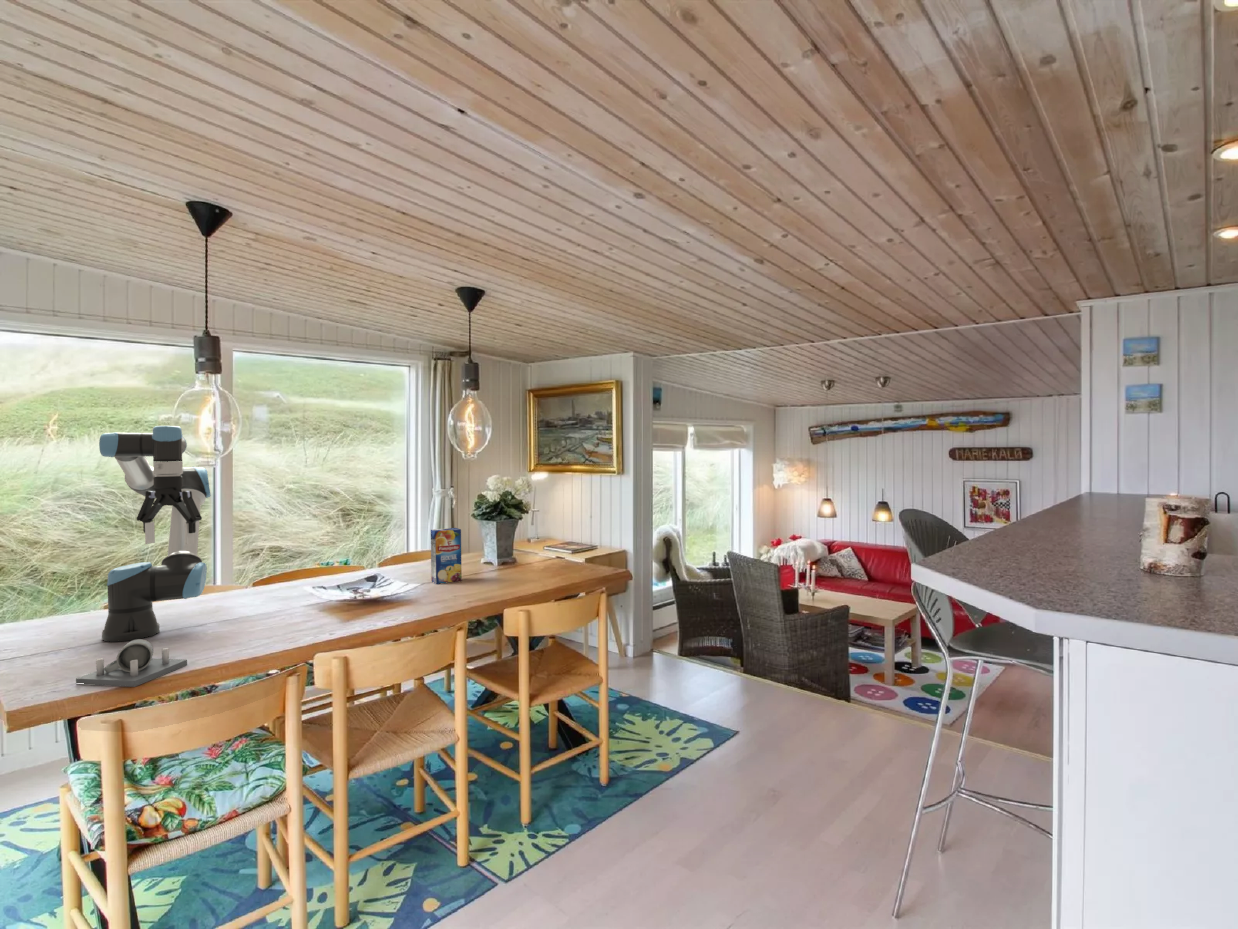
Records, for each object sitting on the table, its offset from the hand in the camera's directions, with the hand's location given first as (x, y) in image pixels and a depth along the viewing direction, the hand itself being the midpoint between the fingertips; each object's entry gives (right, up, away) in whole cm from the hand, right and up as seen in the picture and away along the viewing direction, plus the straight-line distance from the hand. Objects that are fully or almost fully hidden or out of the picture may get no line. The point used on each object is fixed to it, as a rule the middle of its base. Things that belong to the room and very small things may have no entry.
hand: (169, 543), depth 200 cm
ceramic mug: (+8, -31, -27) cm, 42 cm away
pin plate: (+8, -32, -26) cm, 42 cm away
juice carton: (+61, -29, +96) cm, 117 cm away
